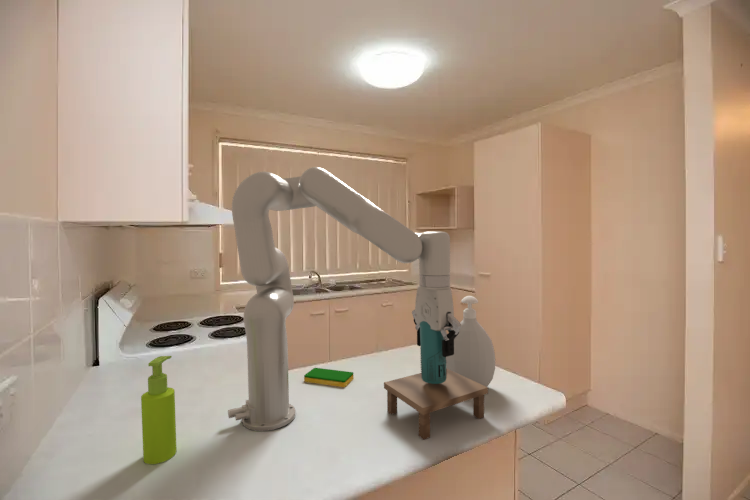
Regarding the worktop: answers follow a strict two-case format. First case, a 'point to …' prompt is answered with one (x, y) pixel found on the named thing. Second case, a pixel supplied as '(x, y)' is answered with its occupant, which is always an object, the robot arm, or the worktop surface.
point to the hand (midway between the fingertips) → (434, 350)
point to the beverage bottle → (432, 355)
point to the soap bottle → (472, 348)
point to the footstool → (434, 396)
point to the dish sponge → (329, 377)
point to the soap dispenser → (158, 416)
